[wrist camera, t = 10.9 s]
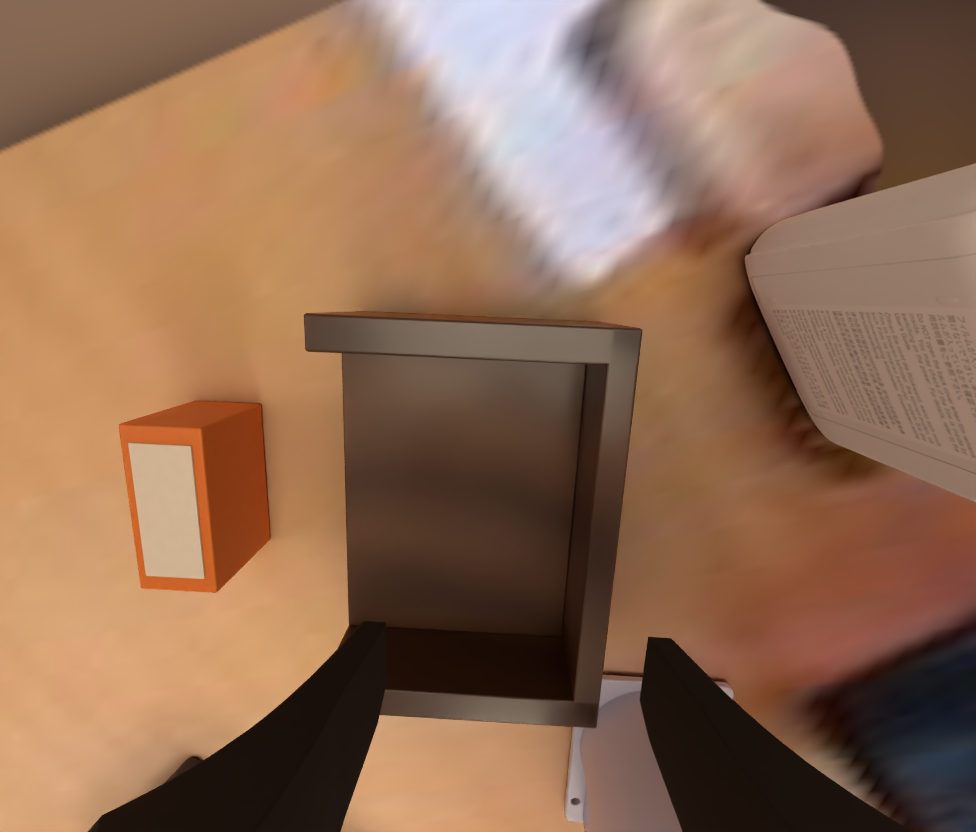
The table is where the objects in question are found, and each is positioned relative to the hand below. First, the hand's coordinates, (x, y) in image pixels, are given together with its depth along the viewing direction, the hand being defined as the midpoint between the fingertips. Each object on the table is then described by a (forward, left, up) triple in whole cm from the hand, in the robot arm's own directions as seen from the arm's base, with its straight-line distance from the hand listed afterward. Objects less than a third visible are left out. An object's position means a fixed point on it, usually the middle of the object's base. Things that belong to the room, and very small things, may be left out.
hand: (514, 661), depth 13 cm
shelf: (+1, +2, -10) cm, 11 cm away
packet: (+1, +13, -10) cm, 17 cm away
